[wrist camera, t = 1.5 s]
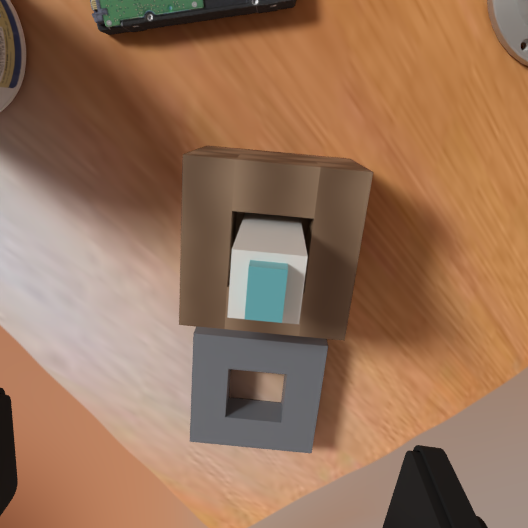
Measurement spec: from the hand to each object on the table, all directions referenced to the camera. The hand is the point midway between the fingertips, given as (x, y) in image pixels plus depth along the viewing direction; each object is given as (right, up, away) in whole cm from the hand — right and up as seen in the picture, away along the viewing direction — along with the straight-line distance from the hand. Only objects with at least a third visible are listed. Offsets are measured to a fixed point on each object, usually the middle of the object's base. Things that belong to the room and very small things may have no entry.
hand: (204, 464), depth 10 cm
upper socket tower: (+2, +8, +27) cm, 28 cm away
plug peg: (+2, +7, +22) cm, 23 cm away
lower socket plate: (+1, -7, +32) cm, 33 cm away
